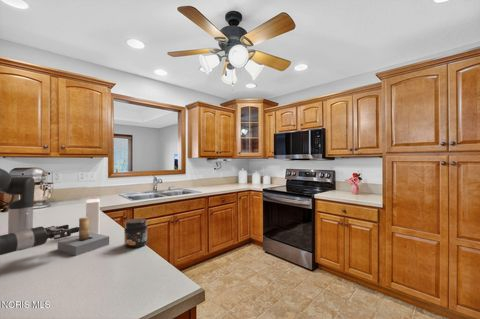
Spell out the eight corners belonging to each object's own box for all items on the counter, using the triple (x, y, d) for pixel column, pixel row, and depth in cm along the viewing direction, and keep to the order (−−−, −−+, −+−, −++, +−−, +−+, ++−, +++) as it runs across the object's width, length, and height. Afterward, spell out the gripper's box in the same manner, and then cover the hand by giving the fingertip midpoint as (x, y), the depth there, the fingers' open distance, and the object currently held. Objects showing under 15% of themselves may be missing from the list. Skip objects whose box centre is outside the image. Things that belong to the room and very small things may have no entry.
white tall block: (98, 235, 125) (99, 196, 125) (85, 237, 122) (86, 197, 122) (99, 232, 130) (99, 194, 130) (86, 234, 127) (87, 195, 127)
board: (57, 249, 104) (57, 241, 104) (90, 239, 118) (90, 232, 118) (76, 255, 98) (76, 246, 98) (109, 244, 111) (109, 236, 111)
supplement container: (119, 247, 108) (119, 222, 108) (136, 240, 118) (136, 217, 118) (135, 250, 104) (135, 224, 104) (152, 242, 114) (152, 219, 114)
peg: (76, 247, 107) (77, 218, 107) (85, 245, 110) (86, 216, 111) (81, 249, 105) (82, 219, 105) (90, 246, 109) (91, 217, 109)
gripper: (37, 231, 86) (82, 221, 100) (20, 226, 92) (64, 218, 107) (37, 251, 86) (82, 238, 100) (19, 245, 92) (64, 233, 106)
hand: (73, 227), depth 103 cm, fingers open, 8 cm apart
